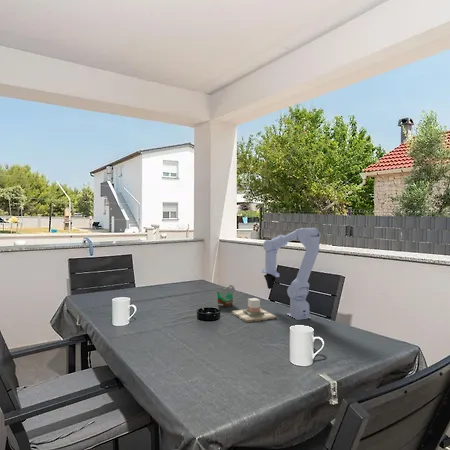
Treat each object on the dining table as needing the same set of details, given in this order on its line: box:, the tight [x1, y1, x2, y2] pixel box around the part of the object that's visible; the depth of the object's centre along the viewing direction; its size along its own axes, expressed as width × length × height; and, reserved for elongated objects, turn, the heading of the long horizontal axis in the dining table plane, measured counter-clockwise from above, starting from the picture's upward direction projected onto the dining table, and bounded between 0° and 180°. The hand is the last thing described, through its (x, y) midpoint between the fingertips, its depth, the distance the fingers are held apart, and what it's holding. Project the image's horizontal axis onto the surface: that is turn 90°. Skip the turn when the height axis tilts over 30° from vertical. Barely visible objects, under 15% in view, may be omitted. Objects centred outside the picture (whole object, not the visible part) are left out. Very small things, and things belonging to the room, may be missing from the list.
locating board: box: [231, 307, 277, 323], centre depth 175 cm, size 16×16×2 cm
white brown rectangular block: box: [247, 297, 261, 313], centre depth 175 cm, size 4×4×7 cm
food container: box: [216, 284, 236, 308], centre depth 194 cm, size 12×6×10 cm, turn 143°
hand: (270, 288), depth 190 cm, fingers closed
